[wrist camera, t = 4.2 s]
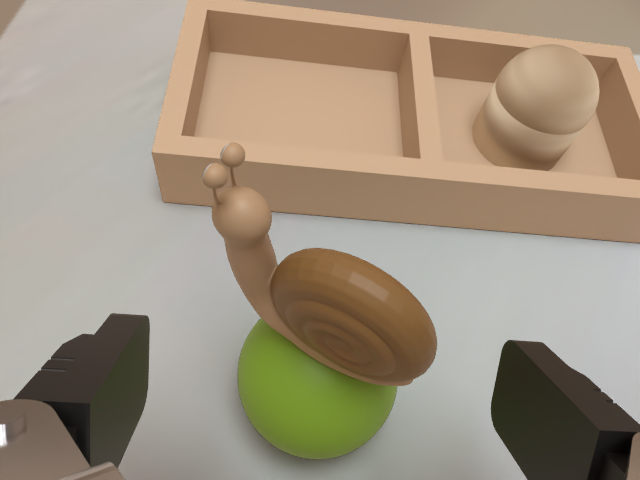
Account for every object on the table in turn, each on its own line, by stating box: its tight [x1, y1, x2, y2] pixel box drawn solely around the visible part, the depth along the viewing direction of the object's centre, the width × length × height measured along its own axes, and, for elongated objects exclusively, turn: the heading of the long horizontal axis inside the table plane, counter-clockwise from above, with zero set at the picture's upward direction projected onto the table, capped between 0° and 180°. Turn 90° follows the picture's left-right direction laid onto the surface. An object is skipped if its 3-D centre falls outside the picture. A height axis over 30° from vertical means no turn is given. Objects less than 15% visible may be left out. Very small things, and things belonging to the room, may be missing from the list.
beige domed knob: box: [472, 44, 600, 171], centre depth 25 cm, size 5×5×5 cm
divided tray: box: [152, 0, 640, 243], centre depth 26 cm, size 23×10×4 cm, turn 88°
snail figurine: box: [202, 142, 437, 459], centre depth 16 cm, size 5×6×12 cm
